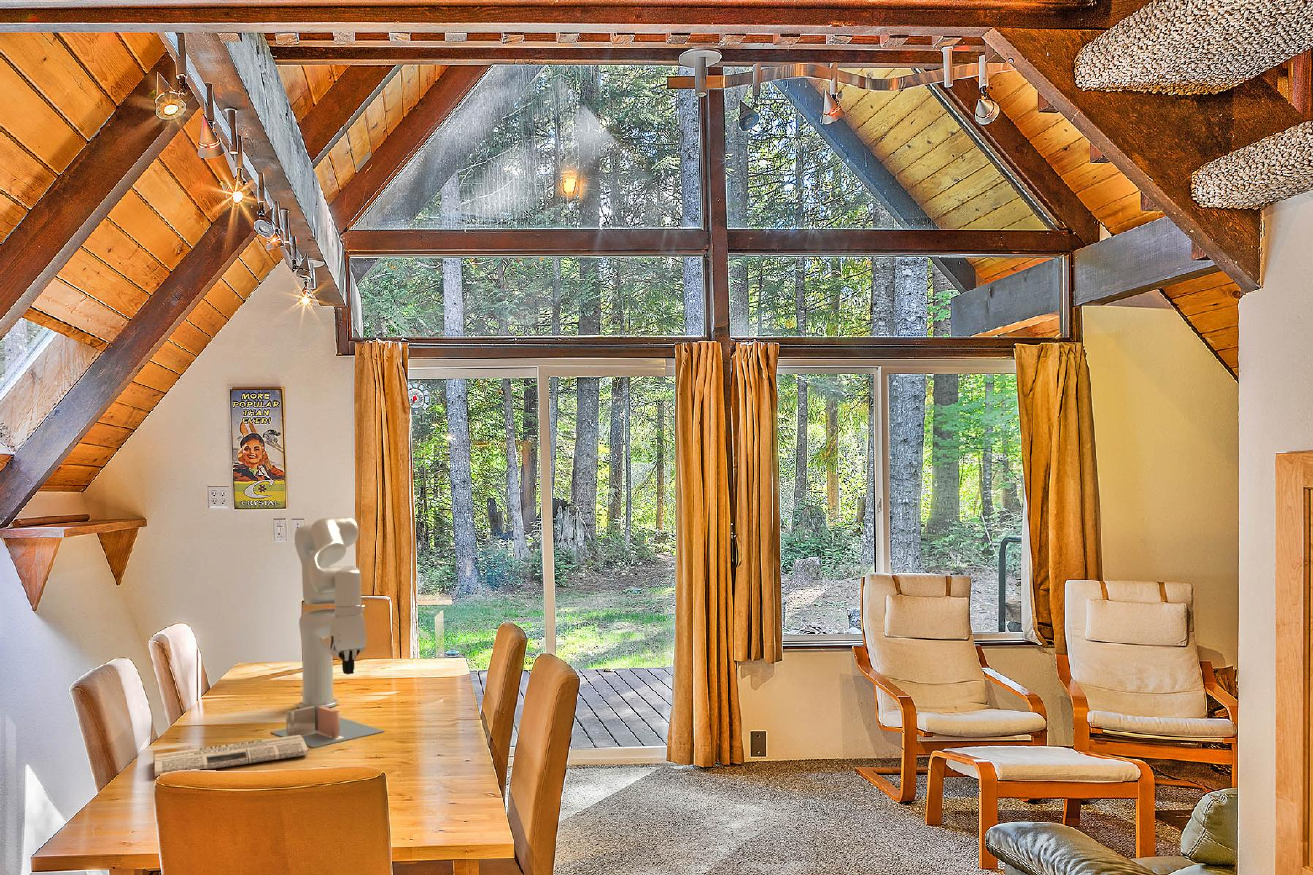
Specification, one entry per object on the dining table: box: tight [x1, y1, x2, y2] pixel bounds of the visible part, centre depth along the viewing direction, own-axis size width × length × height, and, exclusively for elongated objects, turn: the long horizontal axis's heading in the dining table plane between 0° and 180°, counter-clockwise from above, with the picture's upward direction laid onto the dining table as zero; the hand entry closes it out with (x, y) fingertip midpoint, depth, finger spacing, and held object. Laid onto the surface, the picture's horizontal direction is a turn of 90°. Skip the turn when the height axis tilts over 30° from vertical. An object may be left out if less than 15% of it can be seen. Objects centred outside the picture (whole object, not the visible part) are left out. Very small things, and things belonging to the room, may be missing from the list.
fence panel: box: [315, 705, 340, 737], centre depth 292 cm, size 13×2×7 cm, turn 44°
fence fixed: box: [285, 707, 315, 737], centre depth 292 cm, size 2×8×8 cm, turn 136°
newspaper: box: [154, 735, 309, 778], centre depth 270 cm, size 37×19×3 cm, turn 117°
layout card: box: [270, 716, 385, 749], centre depth 296 cm, size 26×24×1 cm
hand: (348, 673), depth 296 cm, fingers closed
